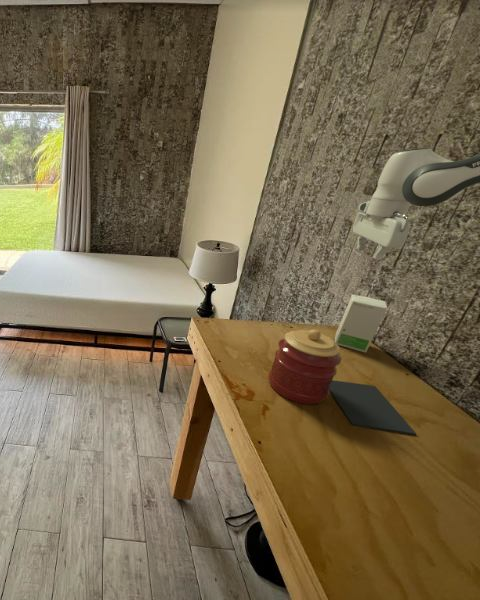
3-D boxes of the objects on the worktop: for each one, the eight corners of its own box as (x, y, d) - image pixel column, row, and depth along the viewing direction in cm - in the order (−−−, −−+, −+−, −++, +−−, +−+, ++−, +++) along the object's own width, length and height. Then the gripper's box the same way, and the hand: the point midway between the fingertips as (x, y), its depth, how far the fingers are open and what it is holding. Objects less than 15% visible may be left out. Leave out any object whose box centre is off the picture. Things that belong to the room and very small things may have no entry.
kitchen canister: (327, 385, 84) (351, 327, 77) (323, 413, 75) (348, 352, 68) (272, 366, 92) (289, 312, 84) (262, 390, 83) (279, 332, 75)
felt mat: (374, 387, 83) (375, 385, 83) (415, 435, 69) (416, 433, 69) (322, 380, 86) (322, 378, 86) (351, 425, 72) (352, 423, 72)
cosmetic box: (333, 344, 101) (351, 300, 95) (334, 335, 106) (350, 293, 99) (367, 353, 97) (388, 308, 90) (366, 343, 101) (386, 300, 95)
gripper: (425, 216, 83) (401, 266, 89) (379, 204, 101) (362, 246, 107) (396, 215, 84) (375, 264, 90) (356, 203, 102) (341, 245, 108)
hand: (368, 254), depth 99 cm, fingers open, 8 cm apart
